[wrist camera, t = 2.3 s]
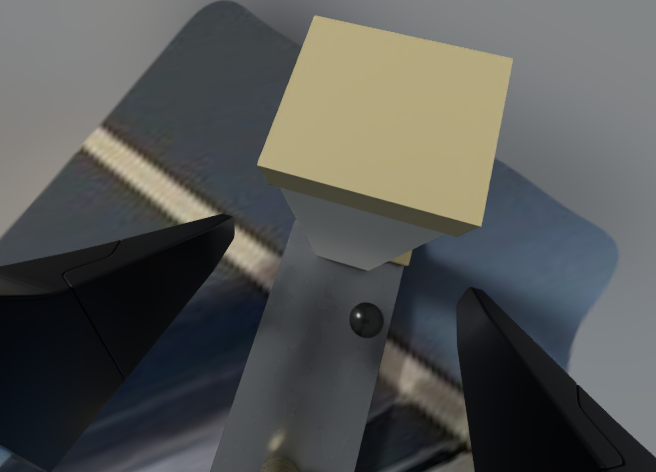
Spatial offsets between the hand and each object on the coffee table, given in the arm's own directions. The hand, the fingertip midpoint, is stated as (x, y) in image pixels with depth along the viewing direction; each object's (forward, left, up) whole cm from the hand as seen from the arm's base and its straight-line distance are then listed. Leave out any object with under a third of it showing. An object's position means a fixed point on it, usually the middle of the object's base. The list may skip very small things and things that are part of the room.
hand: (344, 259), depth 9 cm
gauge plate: (-5, +4, -9) cm, 11 cm away
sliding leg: (+1, -2, -7) cm, 8 cm away
